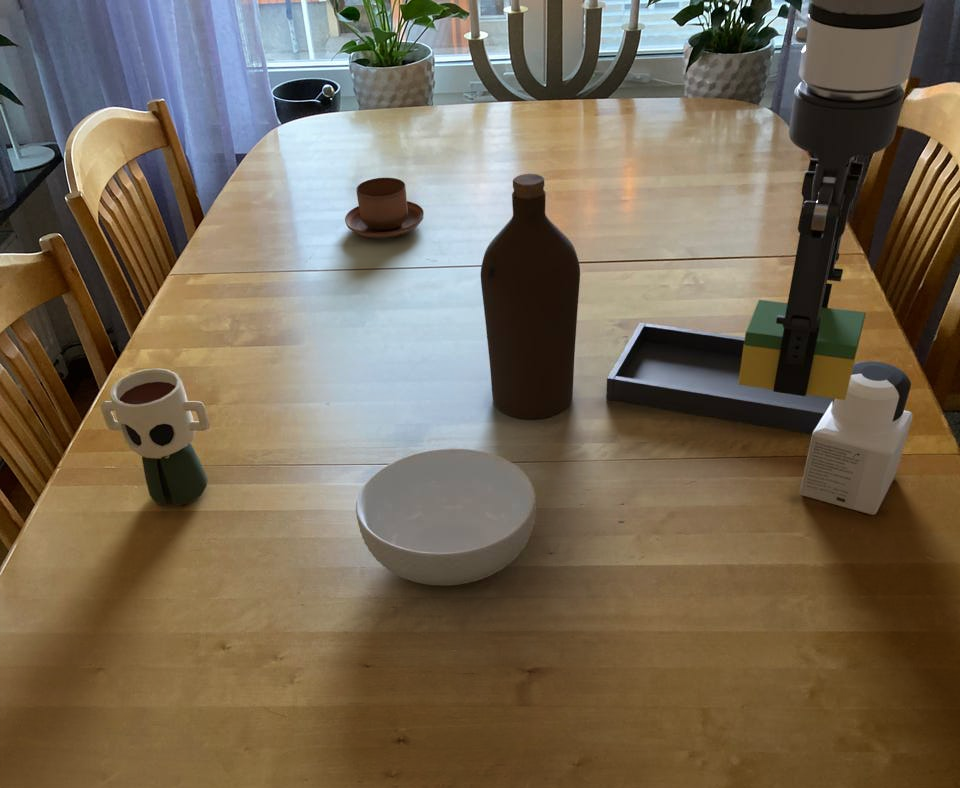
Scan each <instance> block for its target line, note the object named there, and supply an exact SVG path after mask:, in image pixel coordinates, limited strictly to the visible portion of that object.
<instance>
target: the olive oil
mask: <svg viewBox="0 0 960 788" xmlns="http://www.w3.org/2000/svg"><path fill="white" fill-rule="evenodd" d="M544 188H545V178H544V177H543V176H542V175H540V174H536V173H523V174H520V175H517V176H515V177H514V178H513V179H512V189H513V191H512V192H511V202H512V203H511V204H512V216H511V219H509V221H508V222H507V223H506V224H505V225H504V227H502V229H501V230H500V231H498V233H497V234H496V236H494V237H493V239H492V240H491V241H490V242H489V244H488V245H487V247H486V250H485V251H484V254H483V257H482V258H483V259H482V262H481V267H480V285H481V294H482V303H483V311H484V313H483V314H484V320H485V321H484V322H485V330H486V340H487V349H488V351H487V352H488V360H489V371H490V382H491V395H492V401H493V404H494V406H495V407H496V408H497V409H498V410H499V411H500V412H502V413H503V414H505V415H507V416H510V417H512V418H516V419H522V420H539V419H544V418H545V419H546V418H548V417H552V416H555V415H557V414H560V413H561V412H563V411H565V410H566V409H567V408H568V407H569V406H570V404H571V403H572V401H573V395H574V378H575V377H574V374H575V372H574V371H575V356H576V355H575V354H576V353H575V352H576V339H577V338H576V337H577V323H578V310H579V297H580V282H581V267H580V265H581V264H580V261H579V258H578V254H577V251H576V249H575V246H574V244H573V243H572V242H571V240H570V239H569V238H568V237H567V235H565V233H564V232H563V231H562V230H561V229H560V228H559V227H557V225H555V224H554V223H553V222H552V220H550V218H549V217H548V216H547V215H546V194H547V193H546V191H545V189H544Z"/></svg>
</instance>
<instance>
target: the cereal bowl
mask: <svg viewBox="0 0 960 788" xmlns="http://www.w3.org/2000/svg"><path fill="white" fill-rule="evenodd" d="M536 501H537V496H536V491H535V488H534V485H533V484H532V481H531V479H530V478H529V476H528V475H527V474H526V473H525V472H524V471H523V469H522V468H520V467H519V466H518V465H516V464H515V463H513V462H512V461H510V460H508V459H506V458H504V457H501V456H499V455H497V454H493V453H490V452H486V451H482V450H476V449H471V448H470V449H469V448H438V449H431V450H425V451H424V450H423V451H420V452H415V453H413V454H409V455H407V456H403V457H401V458H399V459H397V460H394V461H391V462H390V463H389V464H387V465H385V466H383V467H382V468H380V469H379V470H378V471H376V472H375V473H374V474H373V475H372V476H371V477H369V478H368V479H367V480H366V481H365V483H364V484H363V486H362V487H361V489H360V491H359V492H358V495H357V498H356V501H355V514H356V520H357V525H358V528H359V532H360V534H361V538H362V540H363V542H364V545H365V546H366V547H367V550H368V551H369V552H370V553H371V555H372V557H374V558H375V560H376V561H377V562H378V563H379V564H381V565H382V566H383V567H384V568H386V569H387V570H388V571H390V572H392V573H393V574H394V575H397V576H398V577H400V578H404V579H406V580H407V581H412V582H414V583H419V584H422V585H424V584H425V585H429V586H446V587H447V586H457V585H464V584H469V583H473V582H476V581H480V580H482V579H485V578H487V577H490V576H492V575H494V574H496V573H498V572H500V571H501V570H503V569H504V568H505V567H508V565H509V564H511V563H512V562H514V561H515V559H516V558H517V557H518V556H519V554H520V553H522V551H523V550H524V548H525V546H527V545H528V541H529V540H530V539H531V535H532V533H533V528H534V526H535V520H536V507H537V503H536Z"/></svg>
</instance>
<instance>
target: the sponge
mask: <svg viewBox="0 0 960 788" xmlns="http://www.w3.org/2000/svg"><path fill="white" fill-rule="evenodd" d="M787 303H788V302H782V301H775V300H774V301H773V300H765V299H763V300H762V299H758V301H757V303H756V305H755V308H754V311H753V313H752V316H751V318H750V321H749V323H748V326H747V329H746V331H745V334H744V337H745V341H744V348H743V355H742V362H741V369H740V376H739V383H738V385H744V386H751V387H758V388H765V389H772V390H773V389H774V384H775V378H776V372H777V366H778V360H779V355H780V349H781V343H782V337H783V332H784V328H783V324H777V323H776V320H777V316H778V315H786V309H787ZM819 317H820V318H821V320H820V321H821V323H820V328H819V333H818V338H817V343H816V348H815V353H814V358H813V363H812V368H811V373H810V378H809V383H808V388H807V393H806V395H813V396H820V397H827V398H833V399H840V400H845V398H846V394H847V390H848V386H849V382H850V378H851V374H852V370H853V366H854V363H856V362H855V361H856V357H857V353H858V349H859V348H858V347H859V344H860V340H861V335H862V332H863V326H864V323H865V318H866V312H865V311H856V310H848V309H841V308H831V307H828V308H824V307H821V312H820V316H819Z"/></svg>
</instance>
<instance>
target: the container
mask: <svg viewBox="0 0 960 788" xmlns="http://www.w3.org/2000/svg"><path fill="white" fill-rule="evenodd" d="M911 387H912V382H911V380H910V377H909V376H908V375H907V374H906V372H905V371H903V370H902V369H901V368H899V367H898V366H895V365H893V364H890V363H886V362H882V361H875V360H873V361H872V360H871V361H869V360H863V361H858V362H854V366H853V370H852V374H851V378H850V382H849V386H848V390H847V394H846V398H845V400H840V399H833V401H832V403H831V404H830V406H829V407H828V409H827V411H826V412H825V414H824V415H823V417H822V419H821V420H820V422H819V423H818V425H817V427H816V428H815V430H814V431H813V433H812V434H811V437H810V438H811V439H810V443H809V447H808V453H807V458H806V462H805V466H804V470H803V475H802V480H801V484H800V489H799V494H800V495H801V496H803V497H805V498H810V499H813V500H817V501H821V502H825V503H828V504H831V505H834V506H839V507H843V508H846V509H849V510H852V511H856V512H860V513H863V514H867V515H871V516H874V515H876V514H877V512H878V511H879V509H880V508H881V505H882V503H883V501H884V499H885V497H886V495H887V493H888V491H889V490H890V487H891V485H892V483H893V481H894V480H895V477H896V475H897V472H898V469H899V467H900V466H899V465H900V462H901V459H902V456H903V451H904V449H905V445H906V441H907V439H908V435H909V431H910V428H911V425H912V421H913V419H914V413H913V412H911V411H908V410H905V408H906V405H907V401H908V397H909V394H910V391H911Z"/></svg>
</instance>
